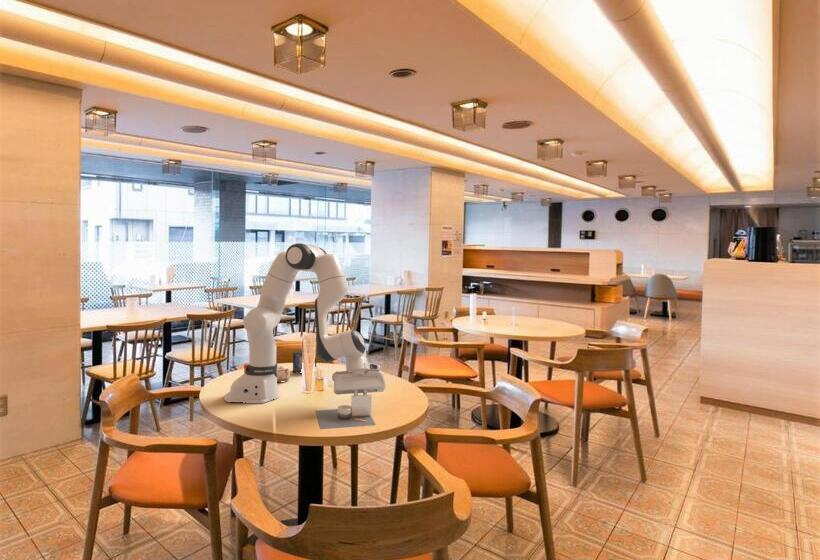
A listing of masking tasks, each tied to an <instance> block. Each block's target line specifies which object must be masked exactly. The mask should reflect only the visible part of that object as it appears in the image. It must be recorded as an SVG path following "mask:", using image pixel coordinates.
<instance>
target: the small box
mask: <svg viewBox="0 0 820 560" xmlns="http://www.w3.org/2000/svg"><path fill="white" fill-rule="evenodd" d="M302 351H303V350H302V349H301V350H300V349H299V350H297V351H294V352H292V372H293V371H294V372H298V373H297V374H301V373H300V372H301V369H302ZM315 352H316V355H317V351H315ZM315 367H316V368H317V358H316V359H315ZM294 372H293V373H294Z"/></svg>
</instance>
